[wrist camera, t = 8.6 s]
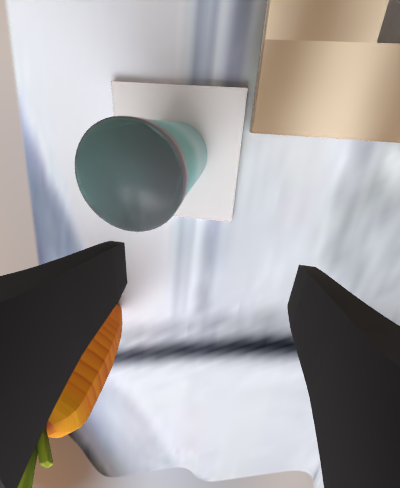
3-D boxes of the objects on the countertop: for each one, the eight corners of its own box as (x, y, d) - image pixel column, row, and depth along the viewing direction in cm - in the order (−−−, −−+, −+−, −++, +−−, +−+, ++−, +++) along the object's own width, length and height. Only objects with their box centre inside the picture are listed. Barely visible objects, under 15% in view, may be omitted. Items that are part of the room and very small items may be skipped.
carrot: (86, 291, 25) (-86, 480, 12) (127, 280, 24) (-12, 479, 10) (109, 327, 27) (-17, 527, 14) (149, 319, 26) (54, 530, 12)
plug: (211, 124, 17) (188, 122, 9) (204, 189, 19) (180, 238, 11) (146, 117, 17) (67, 109, 9) (146, 182, 19) (81, 224, 11)
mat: (247, 88, 16) (247, 88, 16) (231, 220, 20) (231, 221, 19) (114, 82, 17) (111, 81, 16) (124, 209, 21) (122, 210, 20)
